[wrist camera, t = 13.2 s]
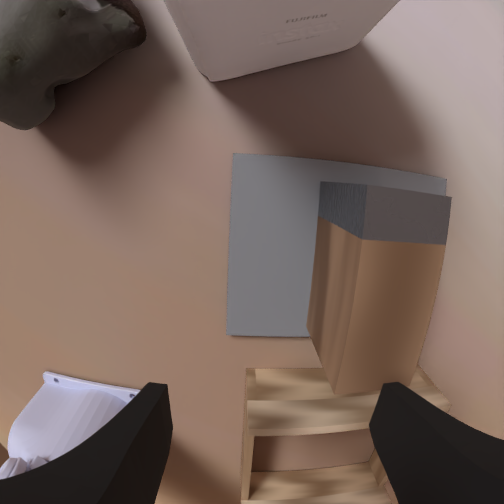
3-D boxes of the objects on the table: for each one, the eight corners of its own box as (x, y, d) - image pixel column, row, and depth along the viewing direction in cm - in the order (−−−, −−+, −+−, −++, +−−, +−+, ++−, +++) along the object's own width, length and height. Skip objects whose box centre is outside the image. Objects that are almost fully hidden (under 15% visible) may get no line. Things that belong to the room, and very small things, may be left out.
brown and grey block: (306, 326, 19) (334, 394, 13) (320, 181, 17) (367, 184, 10) (363, 325, 20) (409, 386, 13) (382, 187, 17) (451, 197, 11)
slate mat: (226, 331, 20) (226, 334, 19) (233, 153, 17) (233, 153, 17) (417, 328, 20) (420, 331, 20) (442, 178, 18) (446, 178, 17)
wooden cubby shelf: (240, 474, 24) (241, 525, 18) (246, 368, 21) (248, 428, 15) (372, 464, 24) (389, 507, 18) (414, 360, 21) (451, 405, 15)
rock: (183, 34, 15) (152, -36, 8) (59, 158, 17) (-24, 157, 9) (65, -54, 12) (27, -96, 4) (-22, 37, 13) (-75, 17, 6)
